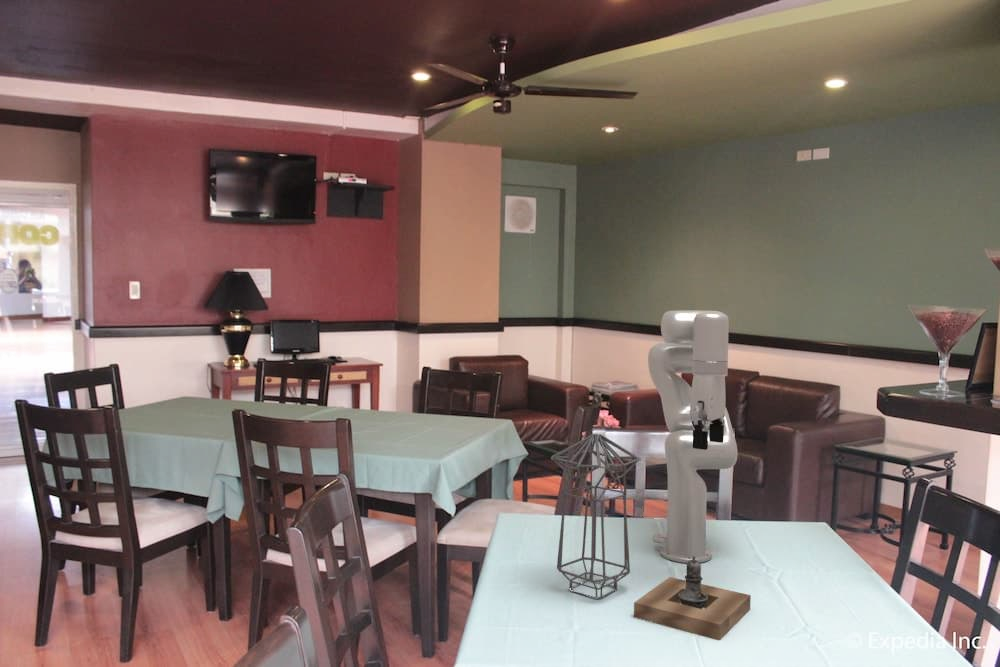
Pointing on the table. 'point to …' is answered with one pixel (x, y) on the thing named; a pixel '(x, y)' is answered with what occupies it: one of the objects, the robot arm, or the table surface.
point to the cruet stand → (693, 608)
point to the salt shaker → (693, 586)
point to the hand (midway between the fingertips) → (708, 445)
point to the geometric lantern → (558, 459)
